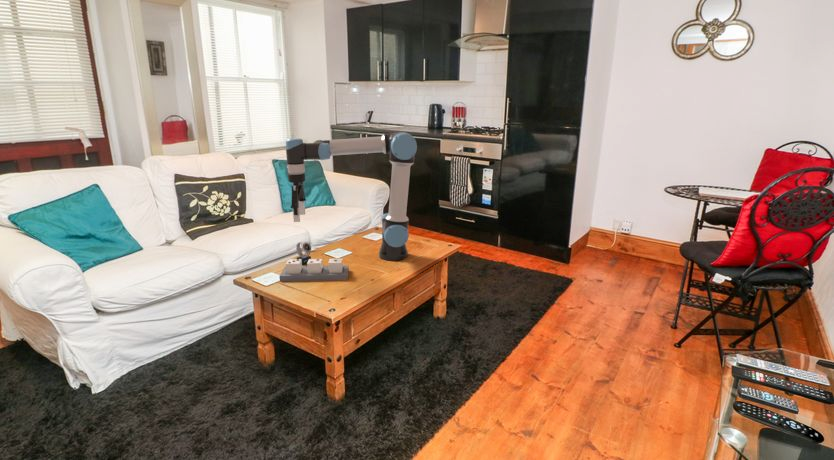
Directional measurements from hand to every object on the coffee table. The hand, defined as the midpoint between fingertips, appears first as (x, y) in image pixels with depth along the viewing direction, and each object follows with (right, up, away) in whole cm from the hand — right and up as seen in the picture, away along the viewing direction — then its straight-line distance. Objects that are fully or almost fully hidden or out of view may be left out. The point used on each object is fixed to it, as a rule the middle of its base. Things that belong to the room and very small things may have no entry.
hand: (299, 218), depth 212 cm
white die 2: (+17, -25, -2) cm, 30 cm away
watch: (-1, -22, +14) cm, 26 cm away
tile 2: (+8, -25, -3) cm, 26 cm away
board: (+8, -27, -2) cm, 28 cm away
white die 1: (-1, -25, -4) cm, 25 cm away
